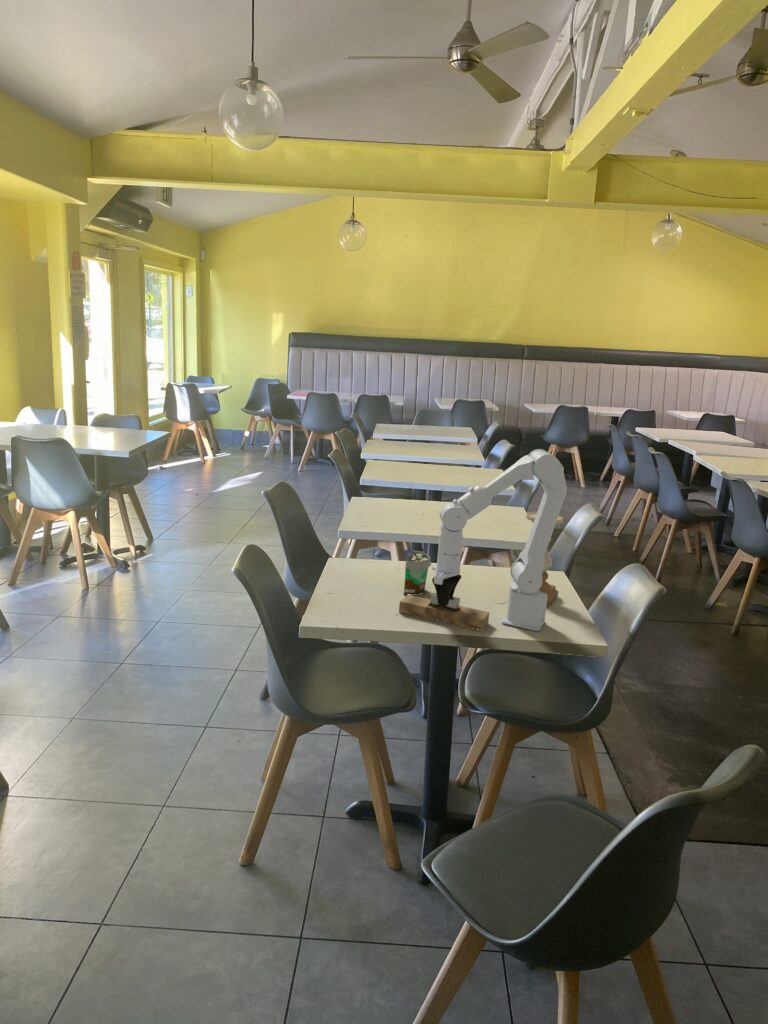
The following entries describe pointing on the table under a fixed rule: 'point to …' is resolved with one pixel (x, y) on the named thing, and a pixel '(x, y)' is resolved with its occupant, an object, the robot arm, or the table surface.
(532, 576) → the robot arm
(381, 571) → the table surface
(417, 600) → the brown slotted holder
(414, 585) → the food container
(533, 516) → the candle holder
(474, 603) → the table surface
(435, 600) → the grey block
